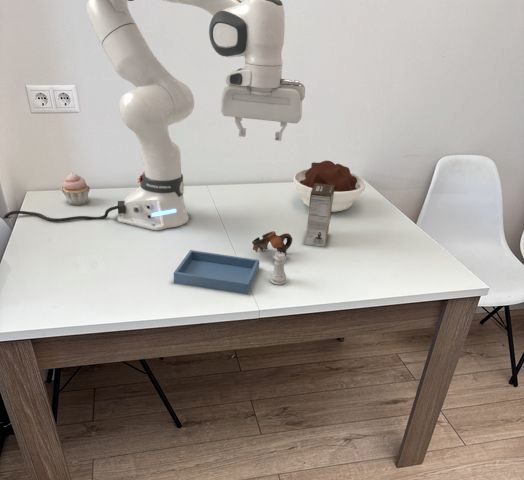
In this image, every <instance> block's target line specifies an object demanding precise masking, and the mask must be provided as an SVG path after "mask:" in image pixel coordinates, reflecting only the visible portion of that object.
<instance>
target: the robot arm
mask: <svg viewBox="0 0 524 480" xmlns="http://www.w3.org/2000/svg"><path fill="white" fill-rule="evenodd" d="M133 1H135V0H87V2H86V14H87V17H88V19H89V22H90V24H91V27H92V29H93V32H94V33H95V35H96V39H98V41H99V43H100V45H101V47H102V49H103V50H104V52H105V54H106V56H107V58H108V59H109V61H110V63H111V65H112V67H113V68H114V70H115V72H116V73H117V74H118V76H119V77H120V78H122V79H123V80H125V81H128V82H129V83H130V84H132V85H133V86H134V88H132V89H130V90H129V91H126V93H124V94H123V95H122V96H121V98H120V99H119V103H118V111H119V116H120V118H121V120H122V122H123V123H124V125H125V126H126V127H127V128H128V129H130V131H132V133H134V135H135V136H136V138H137V140H138V142H139V146H140V149H141V153H142V161H143V170H144V171H143V172H142V174H140V175H139V177H138V178H137V183H138V184H139V183H140V184H139V186H138V187H137V188H135V189H134V190H133V191H132V192H130V193H129V194H128V195H127V196H126V198H125V200H117V205H116V206H111V207H109V208H107V209H106V210H105V211H104V214H103V215H101V216H87V215H77V216H68V217H60V218H55V217H54V218H53V217H49V216H47V215H44V214H42V213H39V212H35V211H25V210H11V211H9V212H7V213H6V214H4V215H3V216H2V218H3V219H7V218H8V217H10V216H12V215H28V216H34V217H35V216H36V217H38V218H41V219H43V220H46V221H48V222H67V221H74V220H91V221H92V220H93V221H94V220H104V219H106V218H107V217H108V215H109V213H110V212H112V211H114V210H117V216H116V217H117V218H116V219H117V222H120V223H123V224H127V225H131V226H136V227H140V228H143V229H147V230H152V231H162V230H165V229H169V228H177V227H180V226H183V225H185V224H186V223H188V222H189V219H190V218H189V215H188V212H187V207H186V204H185V197H184V193H185V182H184V175H183V173H182V158H181V156H182V154H181V149H180V147H179V145H177V143H175V142H174V141H172V138H171V136H170V132H169V126H171V125H174V124H178V123H181V122H182V121H184V120H185V119H187V118H188V117H189V116H190V115H191V114H192V113H193V111H194V109H195V97H194V94H193V92H192V90H191V89H190V87H189V86H188V85H187V84H185V83H184V82H182V81H180V80H179V79H177V78H176V77H174V75H172V74H171V73H170V72H169V70H168V69H166V67H165V66H164V65H163V64H162V63H161V62H160V61H159V59H158V58H157V57H156V56H155V54H154V52H153V50H151V48H150V46H149V44H148V42H147V41H146V39H145V37H144V35H143V34H142V32H141V30H140V29H139V26H138V25H137V23H136V21H135V19H134V18H133V16H132V13H131V12H130V10H129V5H128V2H133ZM162 1H164V2H167V3H172V4H180V5H187V6H192V7H197V8H199V9H202V10H204V11H206V12H208V13H209V14H211V15H212V18H211V20H210V23H209V27H208V36H209V41H210V44H211V47H212V48H213V50H214V52H215V53H217V54H218V55H219V56H221V57H224V58H240V57H243V58H244V67H241V68H238V69H235V70H232V71H230V72H228V73H227V74H226V75H225V78H224V80H225V83H226V85H225V86H224V87H223V89H222V92H221V100H220V113H221V114H222V115H223V117H230V118H234V123H235V125H236V127H237V129H238V137H241V138H242V137H243V138H245V137H246V136H247V128H246V127H243V124H242V121H243V119H249V120H257V121H267V122H268V121H269V122H277V123H280V125H279V126H280V127H281V129H280V130H279V131H275V134H274V141H279V142H281V141H282V139H283V132H284V131H285V130H286V127H288V124H298V123H299V122H300V121H301V120H302V117H303V101H304V99H305V97H306V87H305V85H304V84H303V83H302V82H300V80H297V79H294V80H293V79H287V78H286V79H285V78H282V74H283V58H282V52H283V46H284V44H285V30H286V29H285V26H286V25H285V23H286V22H285V18H286V17H285V7H284V4H283V2H282V1H281V0H242V1H241V0H162Z"/></svg>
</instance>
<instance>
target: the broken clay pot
mask: <svg viewBox="0 0 524 480" xmlns="http://www.w3.org/2000/svg"><path fill="white" fill-rule="evenodd" d="M261 237H262V238H260V236H257V237H256V238H255V239H253V240H252V242H251V244H252V250H253V251H255V253H258V251H259V250H260V251H265V250H268V249H269V247H268V246H269V243H270V245H271V247H272V248H273V249H276V250H277V253H278V252H280V253H282V252H283V253H285V256H286V257H287V250H288V249H289V248H290V247H291V245H292V244H293V237H292V235H291V234H290V233H282V234H280V235H278V234H277V233H276V231H269V232H267V233H264V234H263V235H262V236H261ZM285 239H286V242H284V241H285ZM273 261H275V259H274V258H273Z"/></svg>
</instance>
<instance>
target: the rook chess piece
mask: <svg viewBox="0 0 524 480" xmlns="http://www.w3.org/2000/svg"><path fill="white" fill-rule="evenodd" d="M274 259H275V260H274ZM286 260H287V255H286V256H285V253H283V252H282V253H280V252H278V251H277V252H275V254H274V255H273V261H274V262H273V264H274V266H273V271H271V273H270V276H269V281H270V282H271V283H272V284H273V285H276V286H282V285H285V283H287V275H286V271H285V264H286V262H285V261H286Z"/></svg>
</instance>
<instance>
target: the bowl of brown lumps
mask: <svg viewBox="0 0 524 480" xmlns="http://www.w3.org/2000/svg"><path fill="white" fill-rule="evenodd" d="M310 166H311V167H310V168H305V169H301V170H298V171H297V172H296V173H295V174H294V176H293V178H292V183H293V185H294V188H295V190H296V191H297V192H298V194H299V197H300V199H301V202H302V203H303V204H304V205H306V206H307V208H309V204H310V195H311V191H312V188H313V185H314V183H318V184H327V185H335V189H334V195H333V203H332V209H331V213H333V212H334V213H336V212H342V211H345V210H347V209H349V208H350V207H351V206H352V205H353V204H354V201H355V200H357V199H358V198H359V197H360V196H361V195H363V192H364V191H365V189H366V181H365V180H364V179H363V178H362V177H361V176H360V175H357V174H355V173H353V172H351V169H350V168H349V166H348V167H347V166H345V165H342V164H340V163H336V164H335V163H334V162H333V161H331V160H324V161H320V162H315V161H313V162H311V165H310Z"/></svg>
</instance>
